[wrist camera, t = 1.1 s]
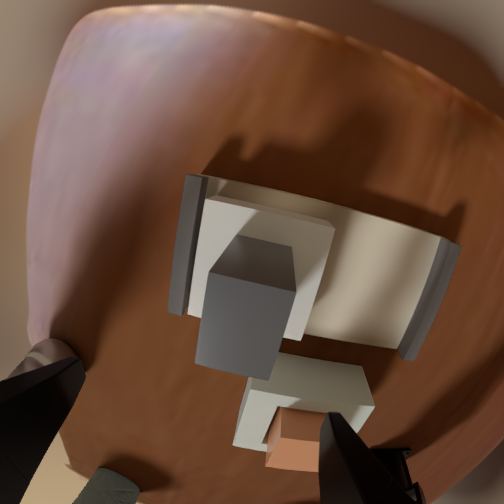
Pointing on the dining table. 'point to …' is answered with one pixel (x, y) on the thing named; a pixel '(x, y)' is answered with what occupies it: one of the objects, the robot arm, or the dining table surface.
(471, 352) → the dining table surface
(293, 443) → the button
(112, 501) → the grey green cup
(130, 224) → the dining table surface
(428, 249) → the rail board
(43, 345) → the plastic bottle
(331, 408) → the button housing
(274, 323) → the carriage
